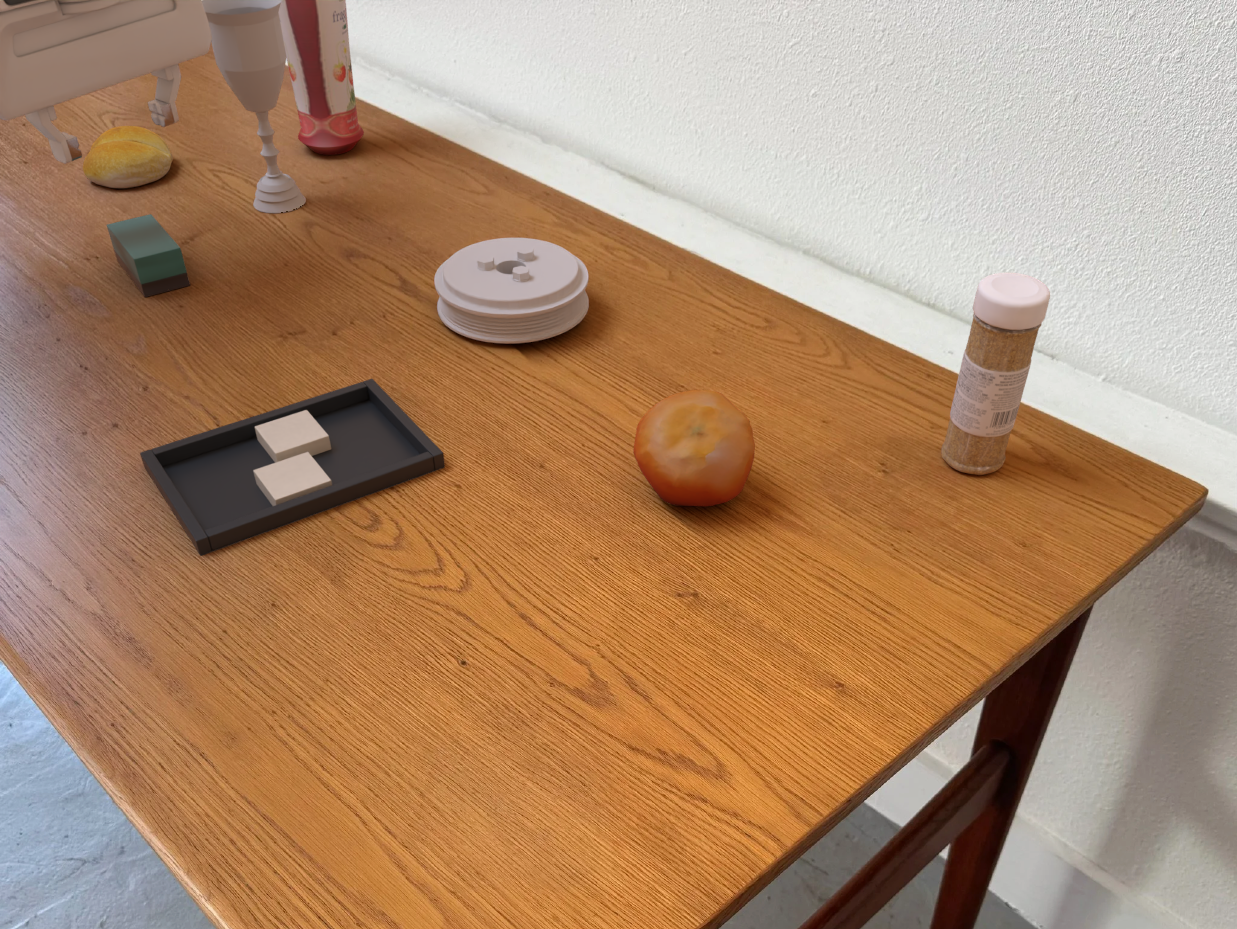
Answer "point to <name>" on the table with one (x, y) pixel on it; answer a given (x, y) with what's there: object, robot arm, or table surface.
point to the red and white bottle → (321, 73)
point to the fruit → (695, 448)
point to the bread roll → (127, 158)
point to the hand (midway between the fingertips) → (119, 141)
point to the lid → (512, 290)
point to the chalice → (255, 81)
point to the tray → (226, 456)
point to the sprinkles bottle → (994, 370)
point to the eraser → (148, 255)
